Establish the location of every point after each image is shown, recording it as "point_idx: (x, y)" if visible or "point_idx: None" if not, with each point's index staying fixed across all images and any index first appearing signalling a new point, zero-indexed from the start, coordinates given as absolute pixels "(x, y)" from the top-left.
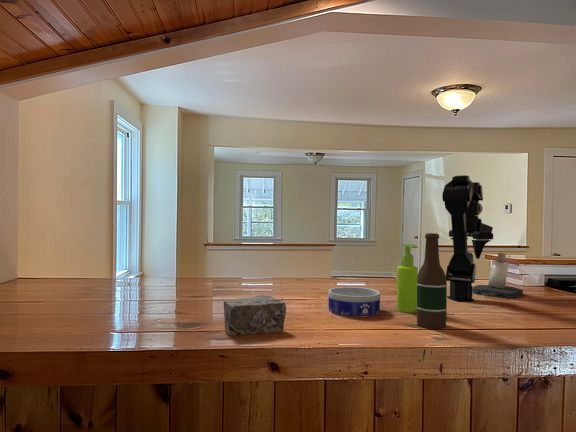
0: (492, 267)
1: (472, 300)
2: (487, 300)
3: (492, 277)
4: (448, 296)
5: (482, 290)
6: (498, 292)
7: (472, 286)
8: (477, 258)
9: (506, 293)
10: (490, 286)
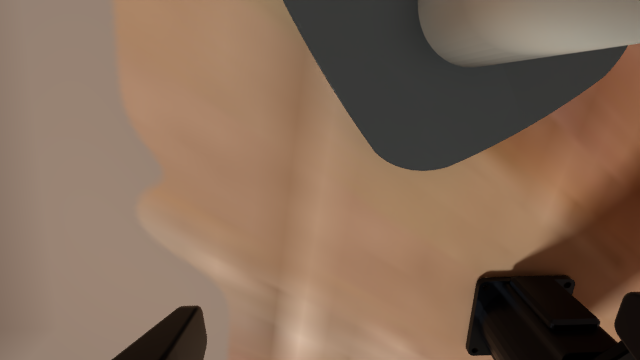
0: (612, 42)
1: (568, 287)
2: (580, 204)
3: (535, 58)
4: (472, 348)
5: (475, 150)
6: (576, 94)
7: (597, 318)
8: (634, 319)
9: (619, 57)
10: None
